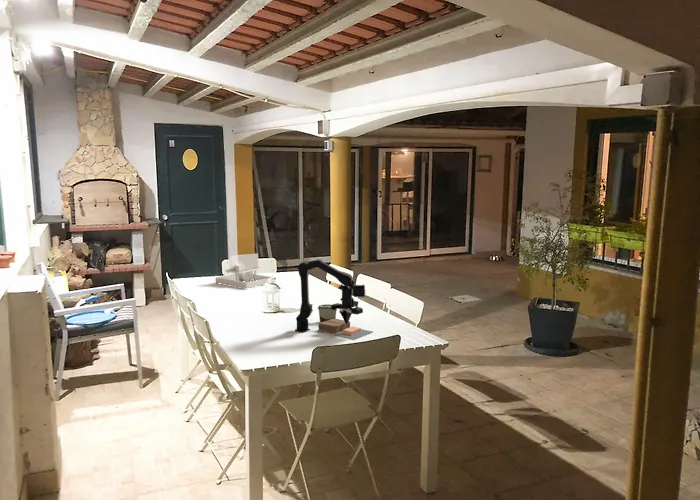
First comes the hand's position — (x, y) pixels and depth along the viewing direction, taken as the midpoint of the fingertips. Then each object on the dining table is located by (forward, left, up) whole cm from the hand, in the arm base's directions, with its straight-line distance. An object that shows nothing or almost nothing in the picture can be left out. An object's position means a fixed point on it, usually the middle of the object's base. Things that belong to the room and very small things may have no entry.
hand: (346, 323), depth 315 cm
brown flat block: (0, +9, -5) cm, 10 cm away
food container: (+11, +22, -5) cm, 25 cm away
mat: (0, -5, -5) cm, 7 cm away
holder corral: (+57, +147, -5) cm, 158 cm away
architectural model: (+57, +147, -6) cm, 158 cm away
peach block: (0, -3, -3) cm, 4 cm away
